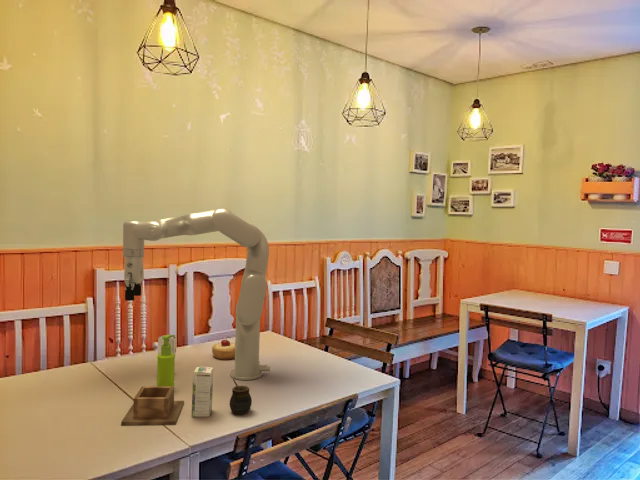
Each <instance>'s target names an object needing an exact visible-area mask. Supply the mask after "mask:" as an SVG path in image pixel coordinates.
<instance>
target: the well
mask: <svg viewBox="0 0 640 480" xmlns="http://www.w3.org/2000/svg"><path fill="white" fill-rule="evenodd" d="M132 401H133V403H132V404H131V406H130V408H129V409H128V411H127V412H126V414H125V415H124V417H123V418H122V420H121V422H120V426H156V425H157V426H158V425H159V426H165V425H170V426H171V425H176V424H177V422H178V419H179V417H180V414H181V412H182V409H183V407H184V404H185V401H184V400H175V385H174V386H157V385H156V386H153V385H152V386H141V387H140V388H139V390H138V391H137V393H136V394H135V396H134V397H133V400H132Z"/></svg>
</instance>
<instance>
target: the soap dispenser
mask: <svg viewBox="0 0 640 480" xmlns="http://www.w3.org/2000/svg"><path fill="white" fill-rule="evenodd" d="M162 336H163V337H162V339H164V344H163V345H162V346H161V354H159V355H158V354H157V357H156V358H157V363H156V364H157V365H156V367H157V368H156V372H157V375H156V376H157V377H156V386H174V387H175V375H174V373H175V363H176V362H175V359H176V355H175V354H173V353H171V345H170V344H169V338H170V337H174V336H175V337H176V335H175V334H166V335H162Z"/></svg>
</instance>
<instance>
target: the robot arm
mask: <svg viewBox="0 0 640 480" xmlns="http://www.w3.org/2000/svg"><path fill="white" fill-rule="evenodd" d="M122 225H123V226H122V230H123V231H122V257H123V258H125V259H124V271H123V273H124V276H123V278H124V283H125V285H124V286H125V288H124V301H126V302H127V301H130V302H133V301H135V297H136V296H137V297H138V296H139V297H141V296H142V282H143V281H144V279H145V276H144V258H145V241H150V242H151V241H152V242H157V241H159V240H162V239H168V238H173V237H178V236H179V237H180V236H198V235H202V234H209V233H210V234H211V233H215V232H220V233H221V234H222V235H224V236H226V237H227V238H229V239H230V240H232V241H234V242H235V243H237V244H238V245H240V246H241V247H244V248H246V250H247V253H246V260H245V267H244V271H243V275H242V278H241V282H240V283H241V284H240V290H239V295H238V299H237V303H236V307H235V339H234V341H235V342H234V344H235V358H234V369H232V370H231V371H230V377H232V378H233V379H234V380H235V379H236V380H239V381H241V380H242V381H251V380H256V379H259V378H261V377H262V376H263V372H271V366H268V365H267V364H261V363H260V337H261V334H260V333H261V317H262V315H263V314H262V313H263V308H264V302H265V298H266V292H267V285H268V284H267V279H266V278H267V277H266V276H267V271H268V270H267V269H268V263H269V256H270V248H269V247H270V246H269V242H268V240H267V237H266V235H265V234H264V233H263V232H262V231H261V230H260V229H259V228H258V227H257V226H255V225H254V224H250V223H249V222H247V221H246V220H243V219H242V218H241V217H239V216H238V215H236V214H235V213H234V212H232V211H231V210H230V209H228V208H225V207H223V208H222V207H221V208H216V209H207V210H203V211H197V212H191V213H185V214H184V215H180V216H175V217H168V218H162V219H155V220H151V221H142V220H126V221H124V222H123V224H122Z"/></svg>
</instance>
